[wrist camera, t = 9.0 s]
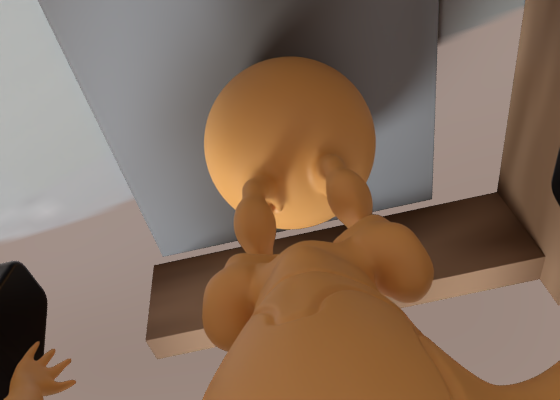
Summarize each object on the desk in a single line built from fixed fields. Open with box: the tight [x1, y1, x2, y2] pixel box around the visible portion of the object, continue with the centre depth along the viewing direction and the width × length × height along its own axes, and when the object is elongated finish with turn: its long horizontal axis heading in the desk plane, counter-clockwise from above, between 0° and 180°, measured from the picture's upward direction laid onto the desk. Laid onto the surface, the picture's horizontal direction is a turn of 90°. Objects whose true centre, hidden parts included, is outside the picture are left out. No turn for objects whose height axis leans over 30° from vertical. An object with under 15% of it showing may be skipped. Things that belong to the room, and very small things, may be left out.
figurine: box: [4, 57, 560, 400], centre depth 8 cm, size 8×6×12 cm
